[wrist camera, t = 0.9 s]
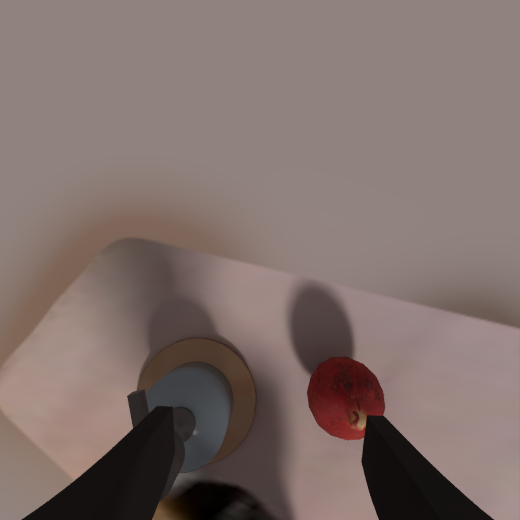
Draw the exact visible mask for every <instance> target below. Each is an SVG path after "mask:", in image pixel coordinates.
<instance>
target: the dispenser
mask: <svg viewBox="0 0 520 520" xmlns="http://www.w3.org/2000/svg"><path fill="white" fill-rule="evenodd" d="M142 389H145V394H146V399H147V405H148V410H149V413H150V412H151V411H152V410H153V409H154V408H155V407H156V406H172V407H173V418H174V431H176V432H177V433H178V434H179V436H180V437H181V439H182V441H183V443H184V446H185V459H184V463H183V465H182V467H181V469H180V471H179V473H186V472H191V471H194V470H197V469H199V468H201V467H202V466H204V465H207V464H211V463H214V462H217V461H219V460H221V459H223V458H225V457H226V456H228V455H229V454H231V453H232V452H233V451H234V450H235V449H236V448H237V447H238V446H239V445H240V444H241V443H242V441H243V440H244V438H245V437H246V435H247V434H248V432H249V430H250V428H251V425H252V422H253V419H254V414H255V407H256V391H255V385H254V382H253V378H252V375H251V373H250V371H249V369H248V367H247V366H246V364H245V362H244V361H243V360H242V359H241V357H240V356H239V355H238V354H237V353H236V352H235V351H233V350H232V349H231V348H229V347H228V346H226V345H224V344H222V343H220V342H217V341H215V340H211V339H205V338H191V339H185V340H182V341H179V342H176V343H174V344H172V345H170V346H168V347H167V348H165V349H164V350H162V351H161V352H160V353H158V354H157V355H156V356H155V357H154V358H153V359H152V360H151V362H150V363H149V364H148V366H147V367H146V369H145V371H144V372H143V374H142V377H141V379H140V382H139V385H138V389H137V391H138V390H142Z"/></svg>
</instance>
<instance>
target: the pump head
mask: <svg viewBox="0 0 520 520" xmlns="http://www.w3.org/2000/svg"><path fill="white" fill-rule="evenodd" d="M127 397H128V402H129V408H130V414H131V419H132V425H133V428H134V427H135V426H136V425H137V424H138V423H139V422H141V421H142V420H143V419H144V418H145V417H146V416H147V415H148V414H149V410H148V405H147V399H146V394H145V389H142V390H138V391H134V392H132V393H131V394H129V395H128V396H127ZM174 440H175V455H174V458H173V462H172V465H171V469H170V472H169V476H168V479H167V482H166V485H165V488H164V491H163V493H162V496H161V498H160V501H161V500H162V499H163V498H165V496H166V495H167V494H168V493H169V491H170V489H171V487H172V485H173V483H174V481H175V479H176V477H177V475H178V473H179V471H180V469H181V467H182V465H183V463H184V459H185V446H184V443H183V441H182V439H181V437H180V436H179V434H178V433H177V432H176V431H174Z"/></svg>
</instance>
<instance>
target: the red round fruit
mask: <svg viewBox="0 0 520 520" xmlns="http://www.w3.org/2000/svg"><path fill="white" fill-rule="evenodd" d="M307 395H308V403H309V408H310V410H311V412H312V414H313V416H314V418H315V420H316V422H317V424H318V425H319V426H320V427H321V428H323V429H324V430H325V431H326V432H327V433H329V434H330V435H332V436H335V437H338V438H341V439H344V440H358V439H362V438H364V435H365V427H366V418H367V415H377V416H383V414H384V410H385V403H384V394H383V390H382V388H381V386H380V384H379V382H378V379H377V378H376V376H375V375H374V374H373V373H372V372H371V371H370V370H369V369H368V368H367V367H366V366H365V365H364V364H362V363H360V362H357V361H355V360H353V359H350V358H348V357H332V358H329V359H328V360H326V361H324V362H322V363H321V364H319V365H318V367H317V368H316V370H315V371H314V373H313V374H312V376H311V378H310V382H309V386H308V390H307Z"/></svg>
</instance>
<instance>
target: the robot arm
mask: <svg viewBox="0 0 520 520" xmlns="http://www.w3.org/2000/svg"><path fill="white" fill-rule="evenodd" d="M174 455H175V440H174V418H173V407H172V406H156V407H155V408H154V409H153V410H152V411H151V412H150V413H149V414H148V415H147V416H146V417H145V418H144V419H143V420H142V421H141V422H139V423H138V424H137V425H136V426H135V427H134V428H133V429H132V430H131V431H130V432H129V433H128V434H127V435H126V436H125V437H124V438H123V439H122V440H121V441H120V442H118V443H117V444H116V445H115V446H114V447H113V448H112V449H111V450H110V451H109V452H108V453H107V454H105V455H104V456H103V457H102V458H101V459H100V460H99V461H97V462H96V463H95V464H94V465H93V466H92V467H90V468H89V469H88V470H87V471H86V472H85V473H83V474H82V475H81V476H80V477H79V478H77V479H76V480H75V481H74V482H72V483H71V484H70V485H69V486H67V487H66V488H65V489H64V490H62V491H61V492H60V493H58V494H57V495H56V496H54V497H53V498H52V499H50V500H49V501H48V502H46V503H45V504H44V505H42V506H41V507H39V508H38V509H37V510H35V511H34V512H32V513H31V514H29V515H28V516H26V517H25V518H23V519H22V520H152V518H153V516H154V513H155V511H156V508H157V506H158V503H159V501H160V498H161V496H162V493H163V491H164V488H165V485H166V482H167V479H168V476H169V472H170V469H171V465H172V462H173V458H174ZM362 466H363V470H364V474H365V478H366V482H367V485H368V489H369V493H370V496H371V499H372V502H373V505H374V507H375V510H376V513H377V516H378V518H379V520H494V519H492V518H491V517H490V516H489V515H487V514H486V513H485V512H484V511H483V510H481V509H480V508H479V507H478V506H477V505H475V504H474V503H473V502H472V501H471V500H470V499H469V498H467V497H466V496H465V495H464V494H463V493H462V492H461V491H460V490H459V489H457V488H456V487H455V486H454V485H453V484H452V483H451V482H450V481H449V480H447V479H446V478H445V477H444V476H443V475H442V474H441V473H440V472H439V471H438V470H437V469H436V468H435V467H434V466H433V465H432V464H431V463H430V462H429V461H428V460H427V459H426V458H425V457H424V456H423V455H422V454H421V453H420V452H419V451H418V450H417V449H416V448H415V447H414V446H413V445H412V444H411V443H410V442H409V441H408V440H407V439H406V438H405V437H404V436H403V435H402V434H401V433H400V432H399V431H398V430H397V429H396V428H395V427H394V426H393V425H392V424H391V423H390V422H389V421H388V420H387V419H386V418H385V417H384V416H377V415H367V418H366V427H365V435H364V444H363V453H362Z"/></svg>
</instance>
